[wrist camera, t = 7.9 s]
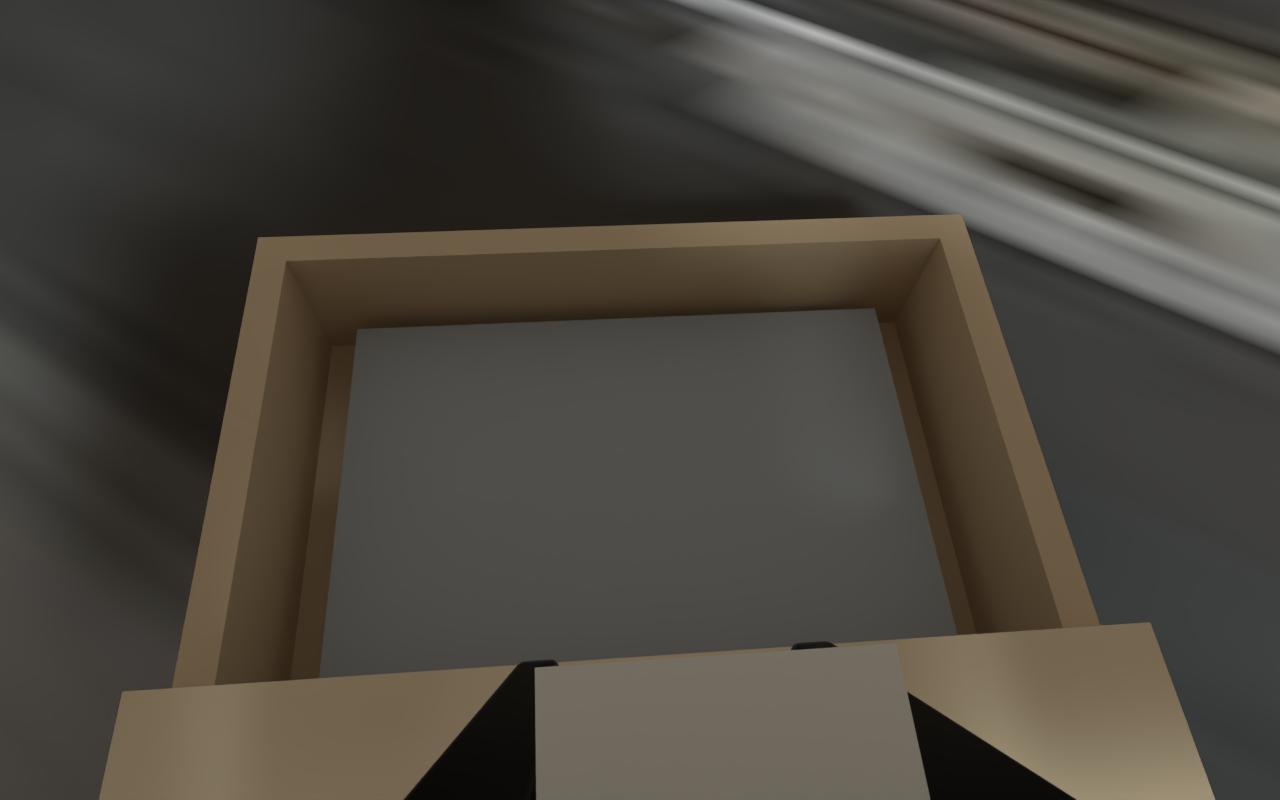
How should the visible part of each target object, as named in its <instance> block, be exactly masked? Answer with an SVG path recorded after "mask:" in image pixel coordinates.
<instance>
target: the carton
mask: <svg viewBox="0 0 1280 800" xmlns="http://www.w3.org/2000/svg"><path fill="white" fill-rule="evenodd" d="M1089 626H1100V624H1099V621H1098V618H1097V615H1096V612H1095V609H1094V606H1093V603H1092V600H1091V597H1090V594H1089V591H1088V588H1087V585H1086V582H1085V579H1084V576H1083V573H1082V570H1081V567H1080V564H1079V561H1078V558H1077V555H1076V552H1075V549H1074V546H1073V544H1072V541H1071V538H1070V535H1069V532H1068V529H1067V526H1066V523H1065V520H1064V517H1063V514H1062V511H1061V508H1060V505H1059V502H1058V499H1057V496H1056V493H1055V490H1054V487H1053V484H1052V481H1051V478H1050V475H1049V472H1048V469H1047V466H1046V463H1045V460H1044V457H1043V454H1042V452H1041V449H1040V446H1039V443H1038V440H1037V437H1036V434H1035V431H1034V428H1033V425H1032V422H1031V419H1030V416H1029V413H1028V410H1027V407H1026V404H1025V401H1024V398H1023V395H1022V392H1021V389H1020V386H1019V383H1018V380H1017V377H1016V374H1015V371H1014V368H1013V365H1012V363H1011V360H1010V357H1009V354H1008V351H1007V348H1006V345H1005V342H1004V339H1003V336H1002V333H1001V330H1000V327H999V324H998V321H997V318H996V315H995V312H994V309H993V306H992V303H991V300H990V297H989V294H988V291H987V288H986V285H985V282H984V279H983V276H982V273H981V271H980V268H979V265H978V262H977V259H976V256H975V253H974V250H973V247H972V244H971V241H970V238H969V235H968V232H967V229H966V226H965V223H964V220H963V217H962V214H953V215H923V216H893V217H862V218H832V219H802V220H772V221H741V222H711V223H681V224H651V225H621V226H590V227H560V228H530V229H500V230H469V231H439V232H409V233H379V234H348V235H318V236H288V237H258V241H257V246H256V251H255V257H254V262H253V267H252V272H251V278H250V283H249V288H248V293H247V298H246V304H245V309H244V314H243V319H242V325H241V330H240V335H239V340H238V345H237V351H236V356H235V361H234V366H233V372H232V377H231V382H230V387H229V392H228V398H227V403H226V408H225V413H224V419H223V424H222V429H221V434H220V439H219V445H218V450H217V455H216V460H215V466H214V471H213V476H212V481H211V486H210V492H209V497H208V502H207V507H206V513H205V518H204V523H203V528H202V533H201V539H200V544H199V549H198V554H197V560H196V565H195V570H194V575H193V580H192V586H191V591H190V596H189V601H188V607H187V612H186V617H185V622H184V627H183V633H182V638H181V643H180V648H179V654H178V659H177V664H176V669H175V674H174V680H173V685H172V688H184V687H199V686H213V685H228V684H243V683H258V682H273V681H288V680H302V679H317V678H332V677H347V676H362V675H377V674H391V673H406V672H421V671H436V670H451V669H466V668H481V667H495V666H510V665H518V664H519V663H521V662H523V661H535V660H550V659H551V660H555V661H557V662H570V661H584V660H599V659H614V658H629V657H644V656H659V655H673V654H688V653H703V652H718V651H733V650H748V649H762V648H777V647H792V646H793V645H794V644H796V643H804V642H818V641H827V642H830V643H832V644H837V643H852V642H866V641H881V640H896V639H911V638H926V637H941V636H955V635H970V634H985V633H1000V632H1015V631H1030V630H1044V629H1059V628H1074V627H1089Z"/></svg>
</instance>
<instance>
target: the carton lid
mask: <svg viewBox="0 0 1280 800" xmlns="http://www.w3.org/2000/svg"><path fill="white" fill-rule="evenodd" d="M834 645H836V646H837V647H832V648H818V649H803V650H791V648H792V647H777V648H762V649H748V650H733V651H718V652H703V653H688V654H673V655H659V656H644V657H629V658H614V659H599V660H584V661H570V662H557V663H558V665H559V666H552V667H537V668H535V738H536V800H930V795H929V791H928V786H927V781H926V777H925V772H924V768H923V763H922V758H921V754H920V749H919V745H918V740H917V735H916V731H915V726H914V722H913V717H912V712H911V708H910V703H909V699H908V694H907V691H908V692H909V693H911V694H912V695H914V696H915V697H917V698H919V699H920V700H922V701H923V702H925V703H926V704H928V705H929V706H931V707H933V708H934V709H936V710H937V711H939V712H940V713H942V714H944V715H945V716H947V717H948V718H950V719H951V720H953V721H955V722H956V723H958V724H959V725H961V726H962V727H964V728H965V729H967V730H969V731H970V732H972V733H973V734H975V735H976V736H978V737H980V738H981V739H983V740H984V741H986V742H987V743H989V744H991V745H992V746H994V747H995V748H997V749H998V750H1000V751H1001V752H1003V753H1005V754H1006V755H1008V756H1009V757H1011V758H1012V759H1014V760H1016V761H1017V762H1019V763H1020V764H1022V765H1023V766H1025V767H1027V768H1028V769H1030V770H1031V771H1033V772H1034V773H1036V774H1037V775H1039V776H1041V777H1042V778H1044V779H1045V780H1047V781H1048V782H1050V783H1052V784H1053V785H1055V786H1056V787H1058V788H1059V789H1061V790H1063V791H1064V792H1066V793H1067V794H1069V795H1070V796H1072V797H1073V798H1075V799H1077V800H1215V798H1214V795H1213V792H1212V790H1211V787H1210V784H1209V781H1208V779H1207V776H1206V773H1205V771H1204V768H1203V765H1202V762H1201V760H1200V757H1199V754H1198V751H1197V749H1196V746H1195V743H1194V741H1193V738H1192V735H1191V732H1190V730H1189V727H1188V724H1187V721H1186V719H1185V716H1184V713H1183V711H1182V708H1181V705H1180V702H1179V700H1178V697H1177V694H1176V691H1175V689H1174V686H1173V683H1172V681H1171V678H1170V675H1169V672H1168V670H1167V667H1166V664H1165V661H1164V659H1163V656H1162V653H1161V651H1160V648H1159V645H1158V642H1157V640H1156V637H1155V634H1154V631H1153V629H1152V626H1151V623H1150V622H1148V623H1133V624H1119V625H1104V626H1089V627H1074V628H1059V629H1044V630H1030V631H1015V632H1000V633H985V634H970V635H955V636H941V637H926V638H911V639H896V640H881V641H866V642H852V643H837V644H834ZM516 666H517V665H510V666H495V667H481V668H466V669H451V670H436V671H421V672H406V673H391V674H377V675H362V676H347V677H332V678H317V679H302V680H288V681H273V682H258V683H243V684H228V685H213V686H199V687H184V688H169V689H154V690H139V691H124V692H122V696H121V701H120V705H119V710H118V714H117V719H116V723H115V728H114V733H113V737H112V742H111V746H110V751H109V755H108V760H107V765H106V769H105V774H104V778H103V783H102V787H101V792H100V797H99V800H404V798H405V797H406V796H407V795H408V794H409V792H410V791H411V790H412V789H413V788H414V787H415V785H416V784H417V783H418V782H419V781H420V779H421V778H422V777H423V776H424V775H425V774H426V772H427V771H428V770H429V769H430V768H431V766H432V765H433V764H434V763H435V762H436V761H437V759H438V758H439V757H440V756H441V755H442V753H443V752H444V751H445V750H446V749H447V748H448V746H449V745H450V744H451V743H452V742H453V740H454V739H455V738H456V737H457V736H458V734H459V733H460V732H461V731H462V730H463V729H464V727H465V726H466V725H467V724H468V723H469V721H470V720H471V719H472V718H473V717H474V716H475V714H476V713H477V712H478V711H479V710H480V708H481V707H482V706H483V705H484V704H485V703H486V701H487V700H488V699H489V698H490V697H491V695H492V694H493V693H494V692H495V691H496V690H497V688H498V687H499V686H500V685H501V684H502V682H503V681H504V680H505V679H506V678H507V676H508V675H509V674H510V673H511V672H512V671H513V669H514V668H515V667H516Z"/></svg>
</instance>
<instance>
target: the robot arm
mask: <svg viewBox="0 0 1280 800" xmlns="http://www.w3.org/2000/svg"><path fill="white" fill-rule="evenodd" d="M832 647H837V646H836V645H834V644H832V643H830V642H827V641H818V642H804V643H796V644H794V645H793V646H792V648H791V650H803V649H818V648H832ZM552 666H559V665H558V663H557V661H555V660H551V659H550V660H535V661H523V662H521V663H519V664H518V665H517V666H516V667H515V668H514V669H513V671H512V672H511V673H510V674H509V675H508V676H507V678H506V679H505V680H504V681H503V682H502V684H501V685H500V686H499V687H498V688H497V690H496V691H495V692H494V693H493V694H492V695H491V697H490V698H489V699H488V700H487V701H486V703H485V704H484V705H483V706H482V707H481V708H480V710H479V711H478V712H477V713H476V714H475V716H474V717H473V718H472V719H471V720H470V721H469V723H468V724H467V725H466V726H465V727H464V729H463V730H462V731H461V732H460V733H459V734H458V736H457V737H456V738H455V739H454V740H453V742H452V743H451V744H450V745H449V746H448V748H447V749H446V750H445V751H444V752H443V753H442V755H441V756H440V757H439V758H438V759H437V761H436V762H435V763H434V764H433V765H432V766H431V768H430V769H429V770H428V771H427V772H426V774H425V775H424V776H423V777H422V778H421V779H420V781H419V782H418V783H417V784H416V785H415V787H414V788H413V789H412V790H411V791H410V792H409V794H408V795H407V796H406V797H405V798H404V800H536V738H535V668H537V667H552ZM907 694H908V699H909V703H910V708H911V712H912V717H913V722H914V726H915V731H916V735H917V740H918V745H919V749H920V754H921V758H922V763H923V768H924V772H925V777H926V781H927V786H928V791H929V795H930V800H1077V799H1075V798H1073V797H1072V796H1070V795H1069V794H1067V793H1066V792H1064V791H1063V790H1061V789H1059V788H1058V787H1056V786H1055V785H1053V784H1052V783H1050V782H1048V781H1047V780H1045V779H1044V778H1042V777H1041V776H1039V775H1037V774H1036V773H1034V772H1033V771H1031V770H1030V769H1028V768H1027V767H1025V766H1023V765H1022V764H1020V763H1019V762H1017V761H1016V760H1014V759H1012V758H1011V757H1009V756H1008V755H1006V754H1005V753H1003V752H1001V751H1000V750H998V749H997V748H995V747H994V746H992V745H991V744H989V743H987V742H986V741H984V740H983V739H981V738H980V737H978V736H976V735H975V734H973V733H972V732H970V731H969V730H967V729H965V728H964V727H962V726H961V725H959V724H958V723H956V722H955V721H953V720H951V719H950V718H948V717H947V716H945V715H944V714H942V713H940V712H939V711H937V710H936V709H934V708H933V707H931V706H929V705H928V704H926V703H925V702H923V701H922V700H920V699H919V698H917V697H915V696H914V695H912V694H911V693H909V692H908V691H907Z"/></svg>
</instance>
